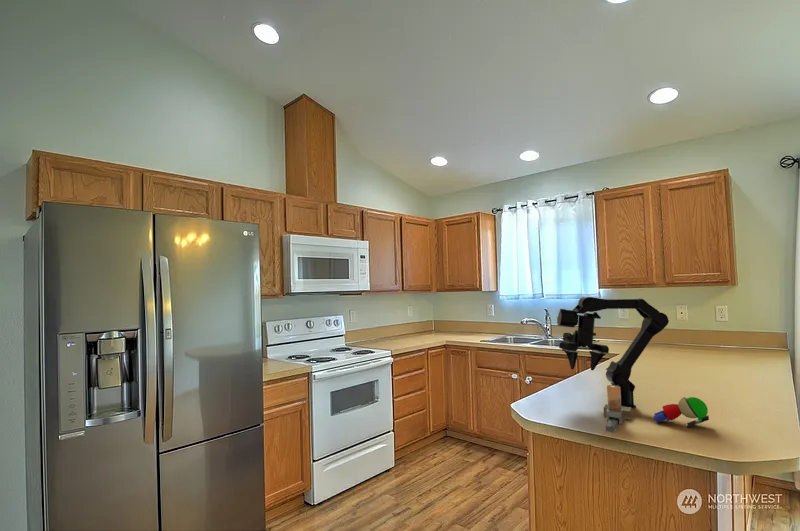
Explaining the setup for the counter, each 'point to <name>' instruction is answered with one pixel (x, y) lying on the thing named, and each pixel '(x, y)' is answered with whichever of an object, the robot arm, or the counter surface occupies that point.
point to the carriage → (614, 403)
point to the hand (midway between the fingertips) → (582, 369)
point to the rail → (612, 424)
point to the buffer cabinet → (626, 412)
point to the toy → (684, 411)
